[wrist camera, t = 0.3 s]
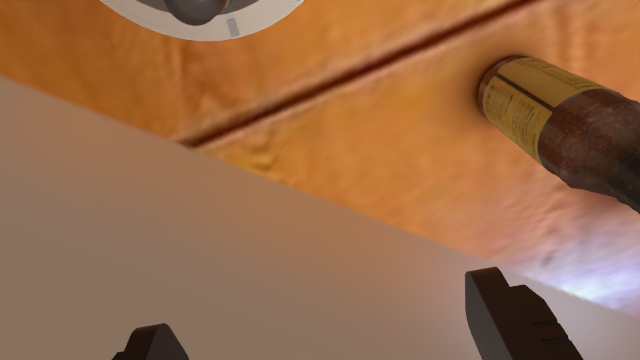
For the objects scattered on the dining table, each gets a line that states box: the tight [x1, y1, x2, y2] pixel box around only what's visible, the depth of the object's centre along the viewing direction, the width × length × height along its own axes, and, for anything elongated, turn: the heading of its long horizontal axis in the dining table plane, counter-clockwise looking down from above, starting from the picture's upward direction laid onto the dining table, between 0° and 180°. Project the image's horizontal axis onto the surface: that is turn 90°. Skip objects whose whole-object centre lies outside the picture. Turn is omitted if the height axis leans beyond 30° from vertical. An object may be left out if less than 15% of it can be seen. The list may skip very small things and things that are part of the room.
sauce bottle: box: [477, 56, 640, 214], centre depth 26 cm, size 7×6×20 cm
